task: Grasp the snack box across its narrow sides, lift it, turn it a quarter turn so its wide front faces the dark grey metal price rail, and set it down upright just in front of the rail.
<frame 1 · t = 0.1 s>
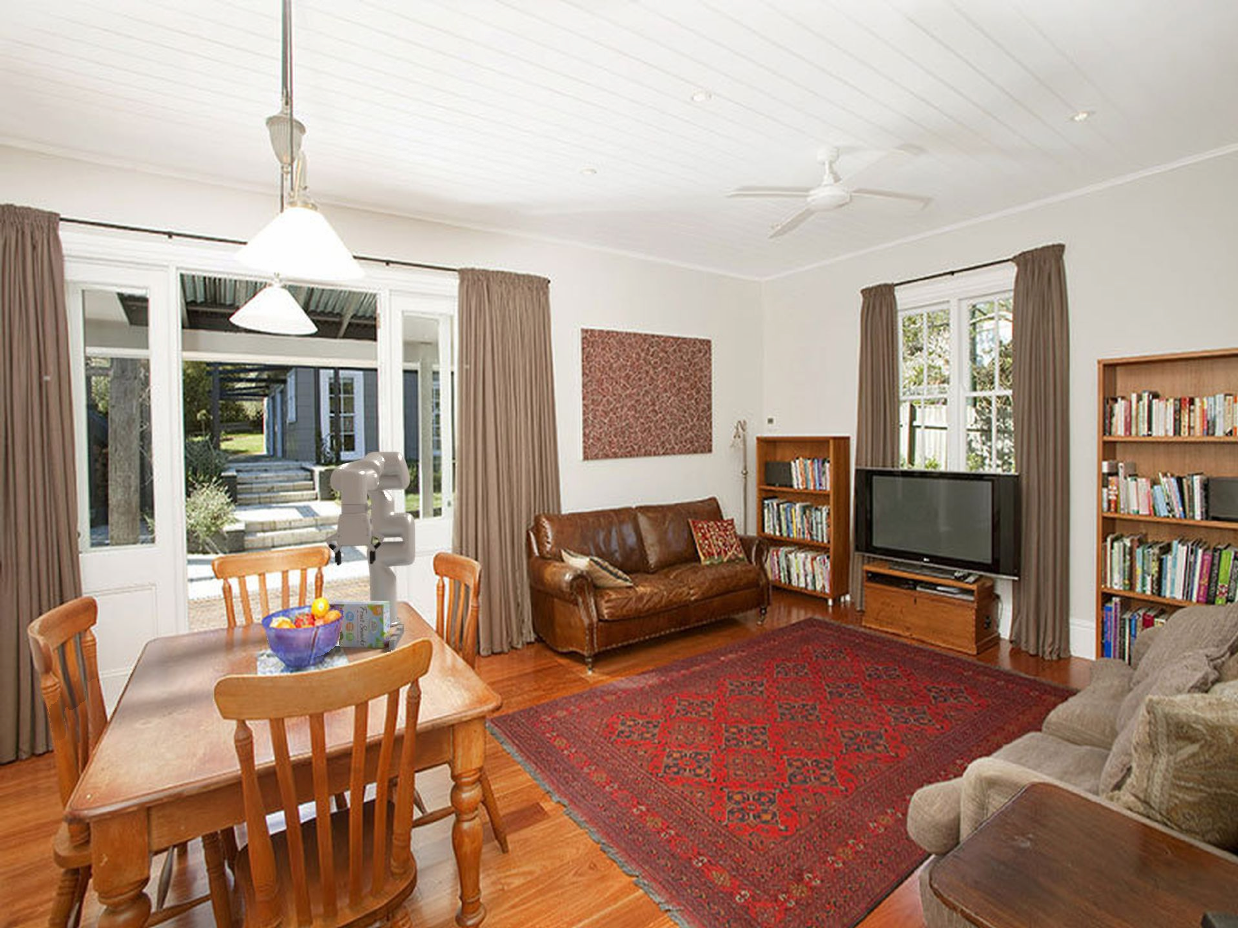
hand: (355, 564, 198), 31 cm above the table, tool pointing down, fingers open, 9 cm apart
snack box: (357, 646, 217), on the table
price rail: (396, 641, 221), on the table
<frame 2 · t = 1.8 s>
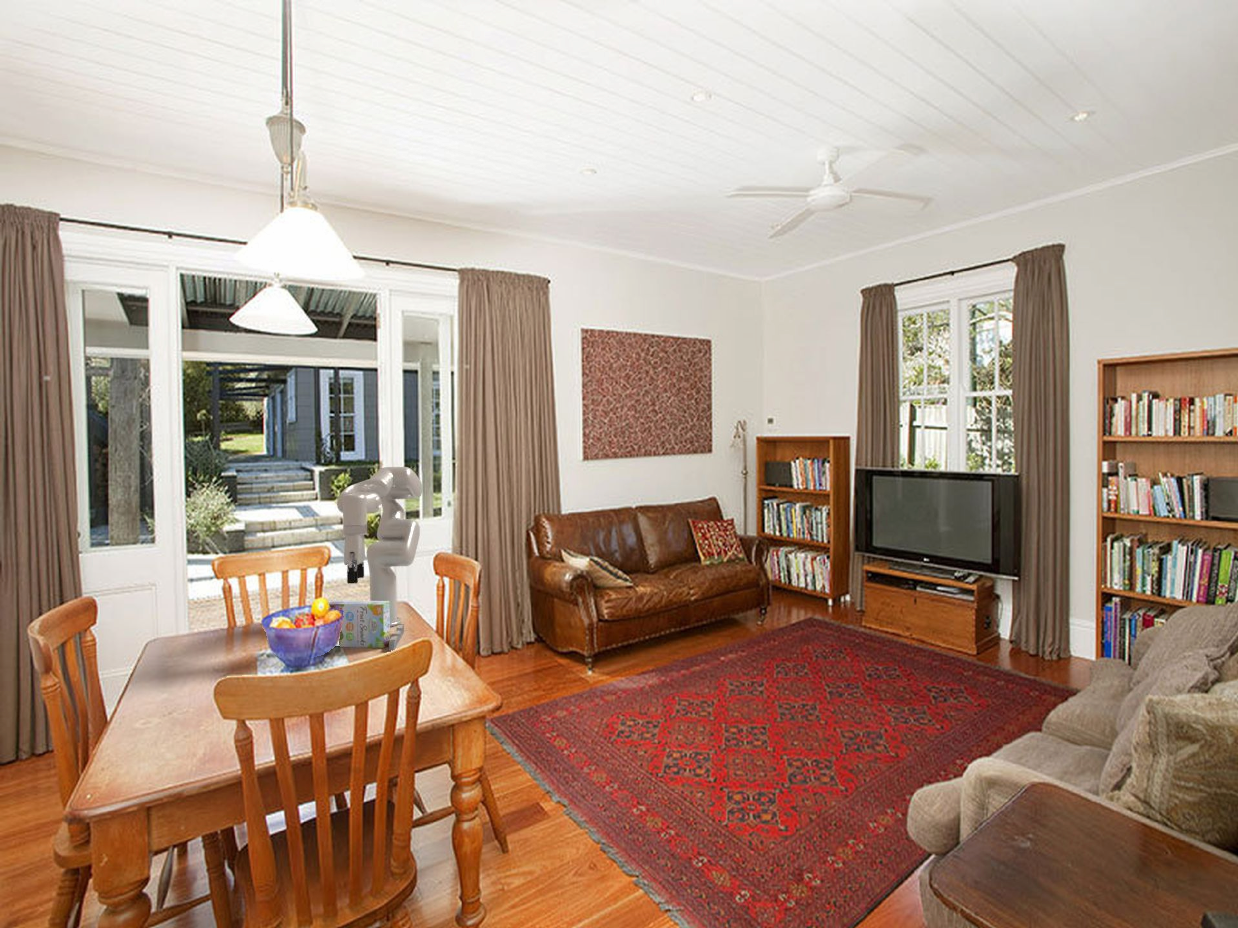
hand: (355, 580, 216), 22 cm above the table, tool pointing down, fingers open, 9 cm apart
nothing on the table moved.
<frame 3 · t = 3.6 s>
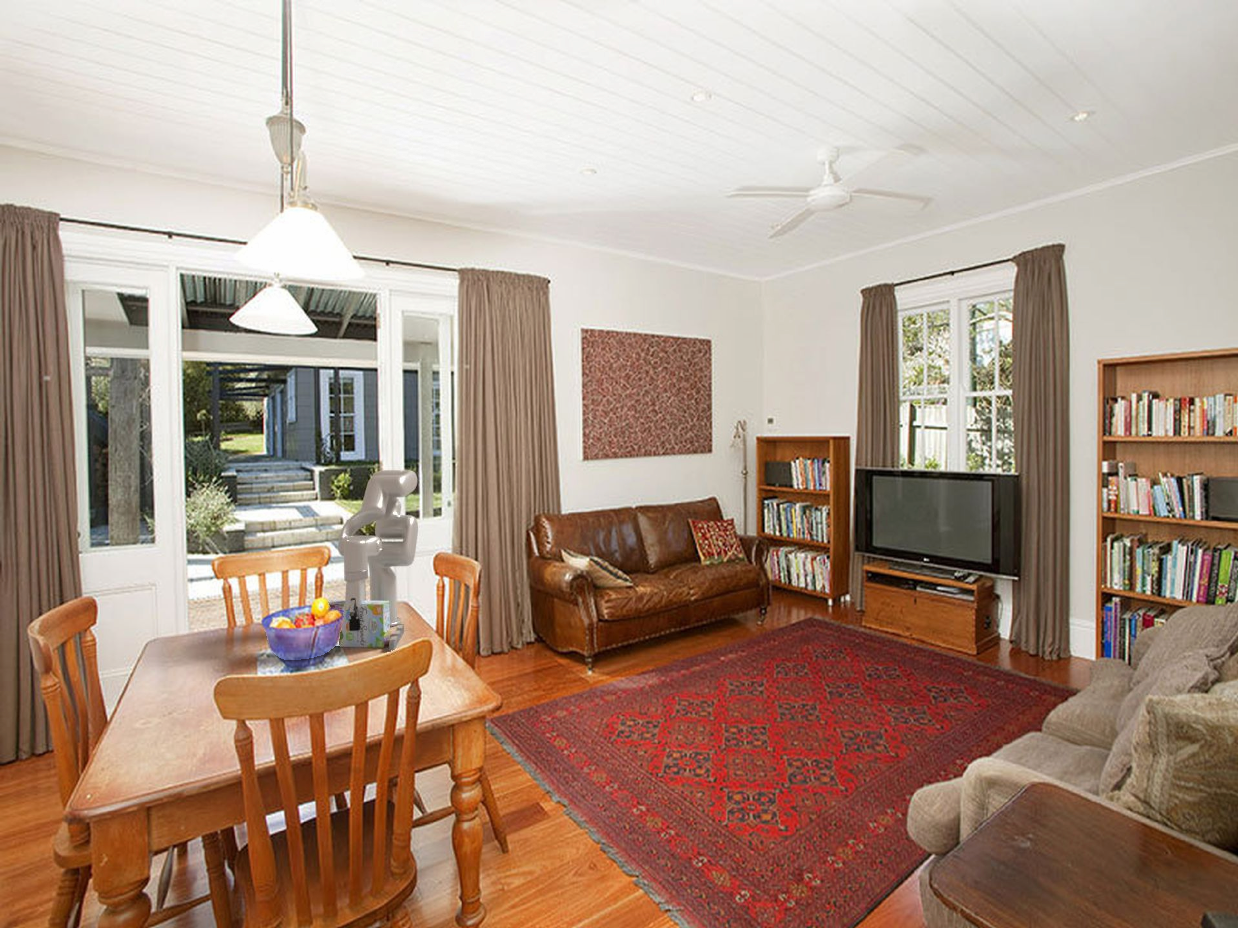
hand: (357, 627, 216), 6 cm above the table, tool pointing down, fingers closed on snack box, 6 cm apart
snack box: (357, 645, 217), on the table, touching gripper
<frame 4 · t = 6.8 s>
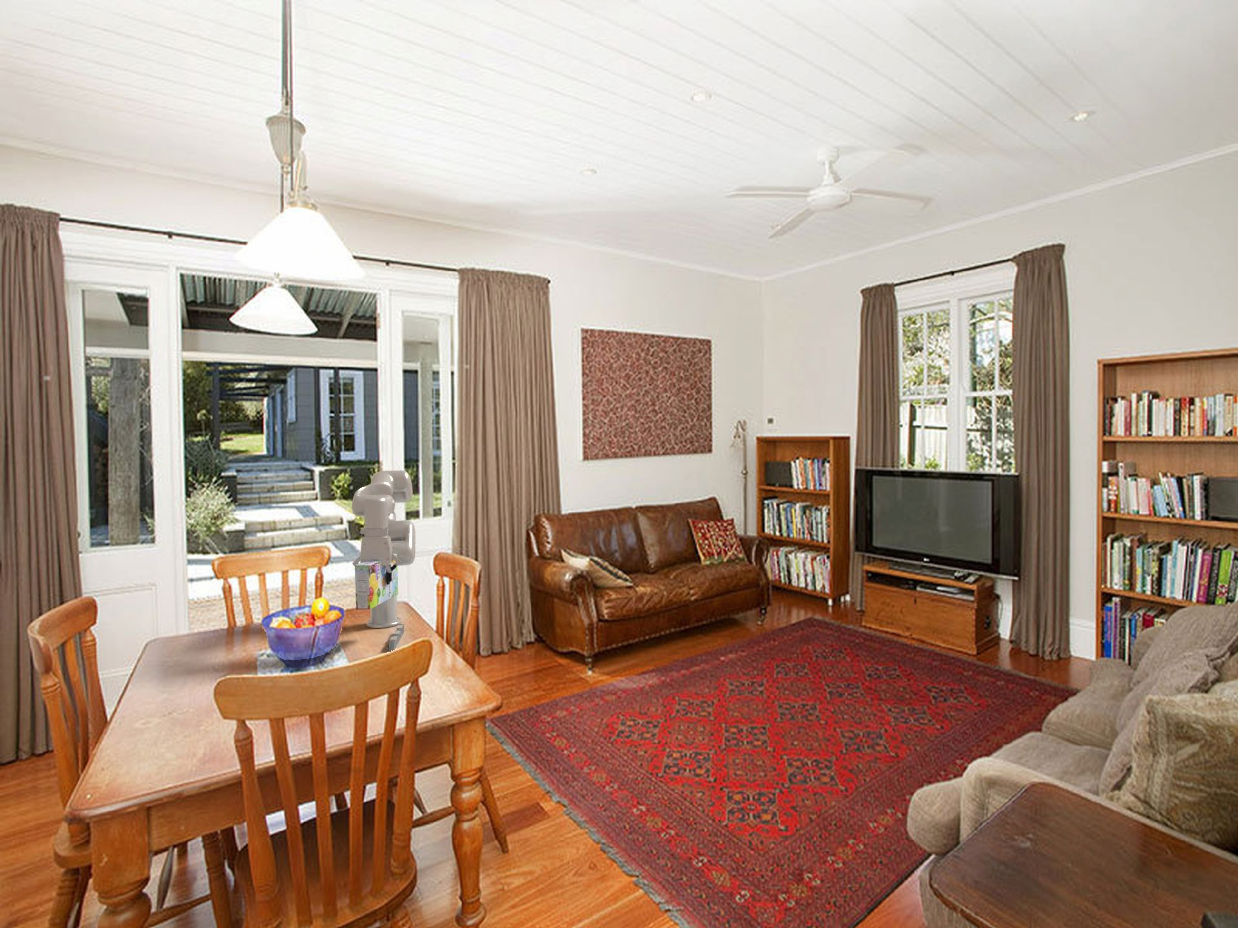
hand: (377, 583, 219), 20 cm above the table, tool pointing down, fingers closed on snack box, 6 cm apart
snack box: (377, 602, 220), point 14 cm above the table, touching gripper
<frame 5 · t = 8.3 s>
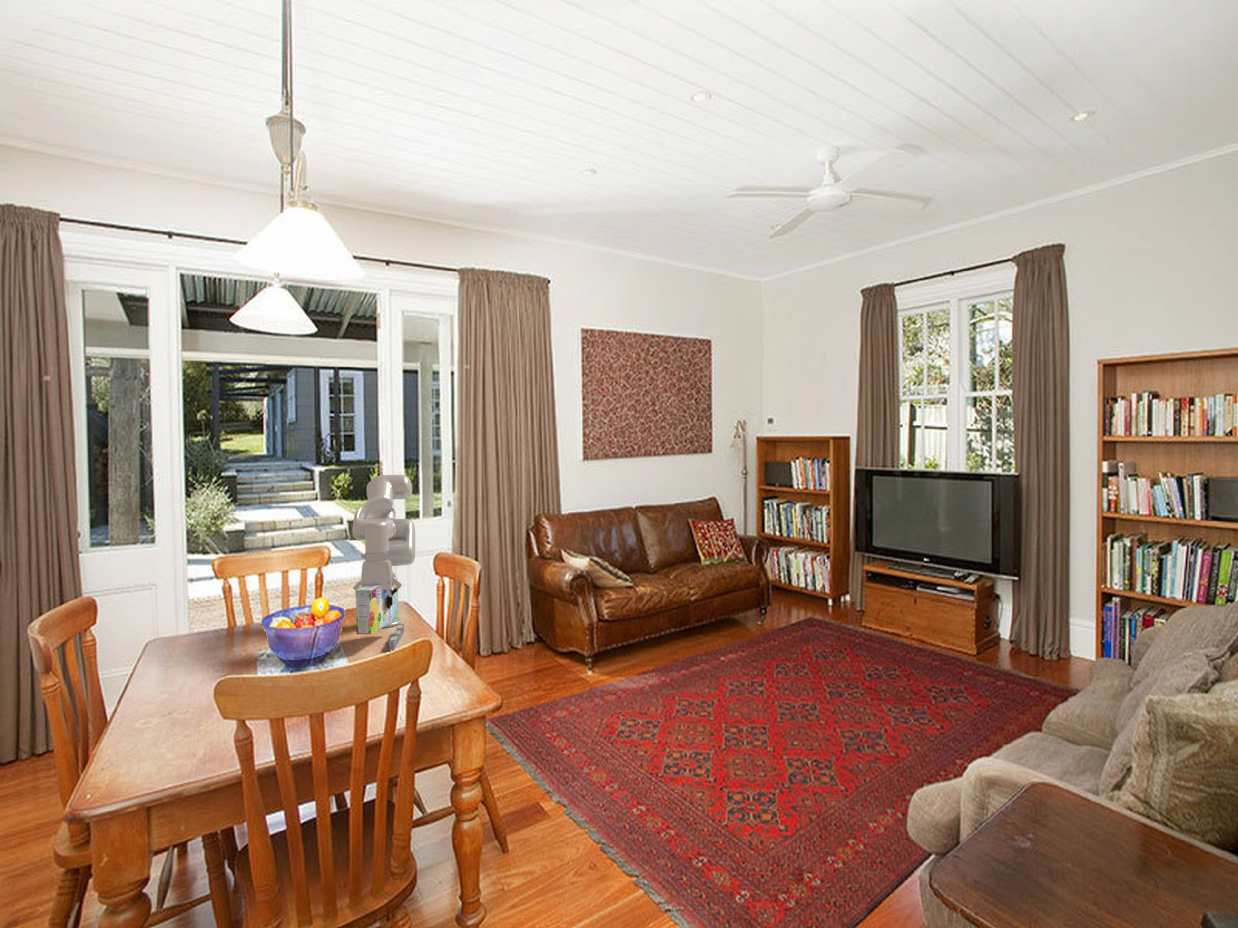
hand: (378, 607, 219), 12 cm above the table, tool pointing down, fingers closed on snack box, 6 cm apart
snack box: (378, 626, 219), point 6 cm above the table, touching gripper
when the fingers open (7 cm above the table, at t = 9.8 s): snack box drops 1 cm, on the table.
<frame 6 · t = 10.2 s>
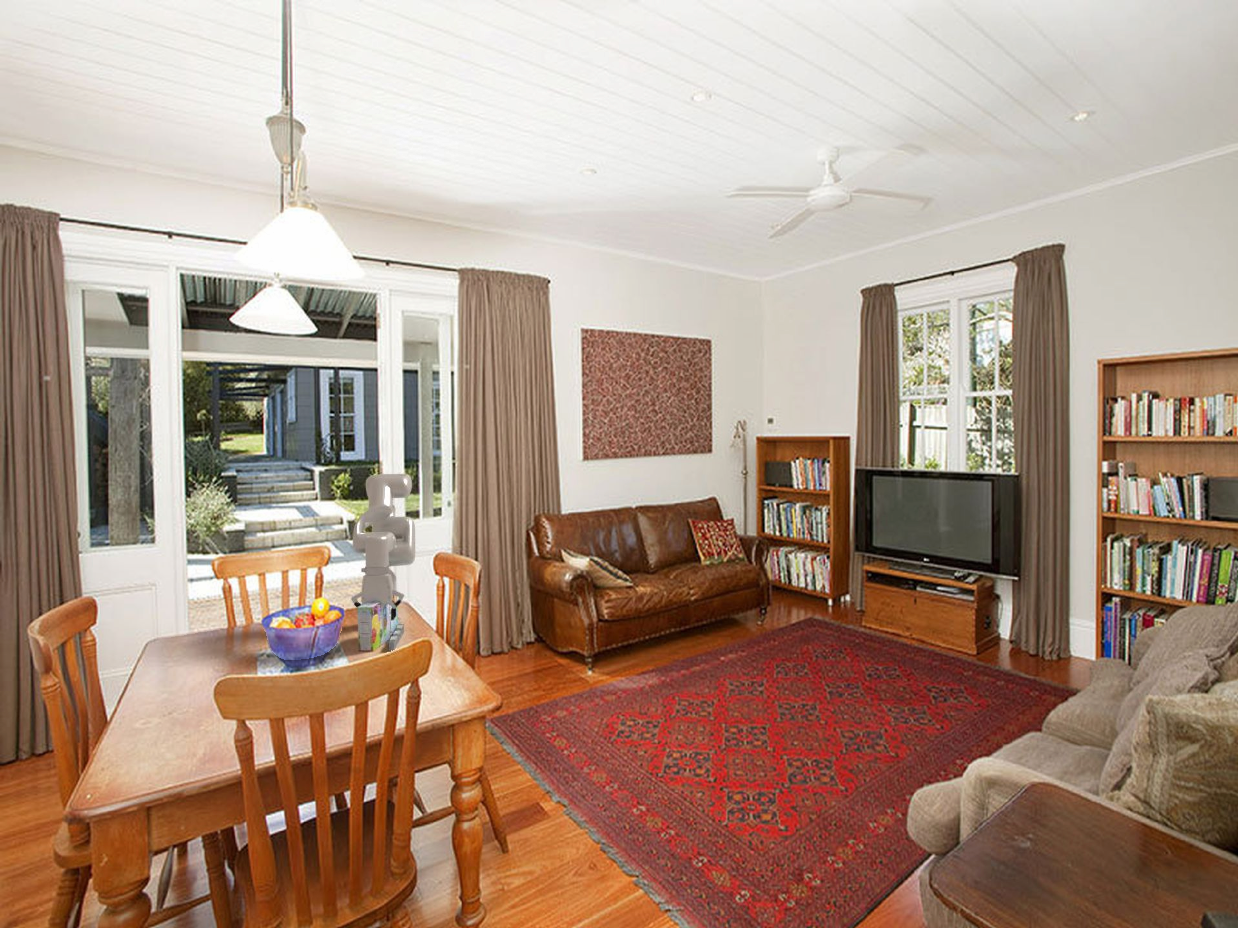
hand: (378, 619, 220), 8 cm above the table, tool pointing down, fingers open, 9 cm apart
snack box: (379, 642, 221), on the table
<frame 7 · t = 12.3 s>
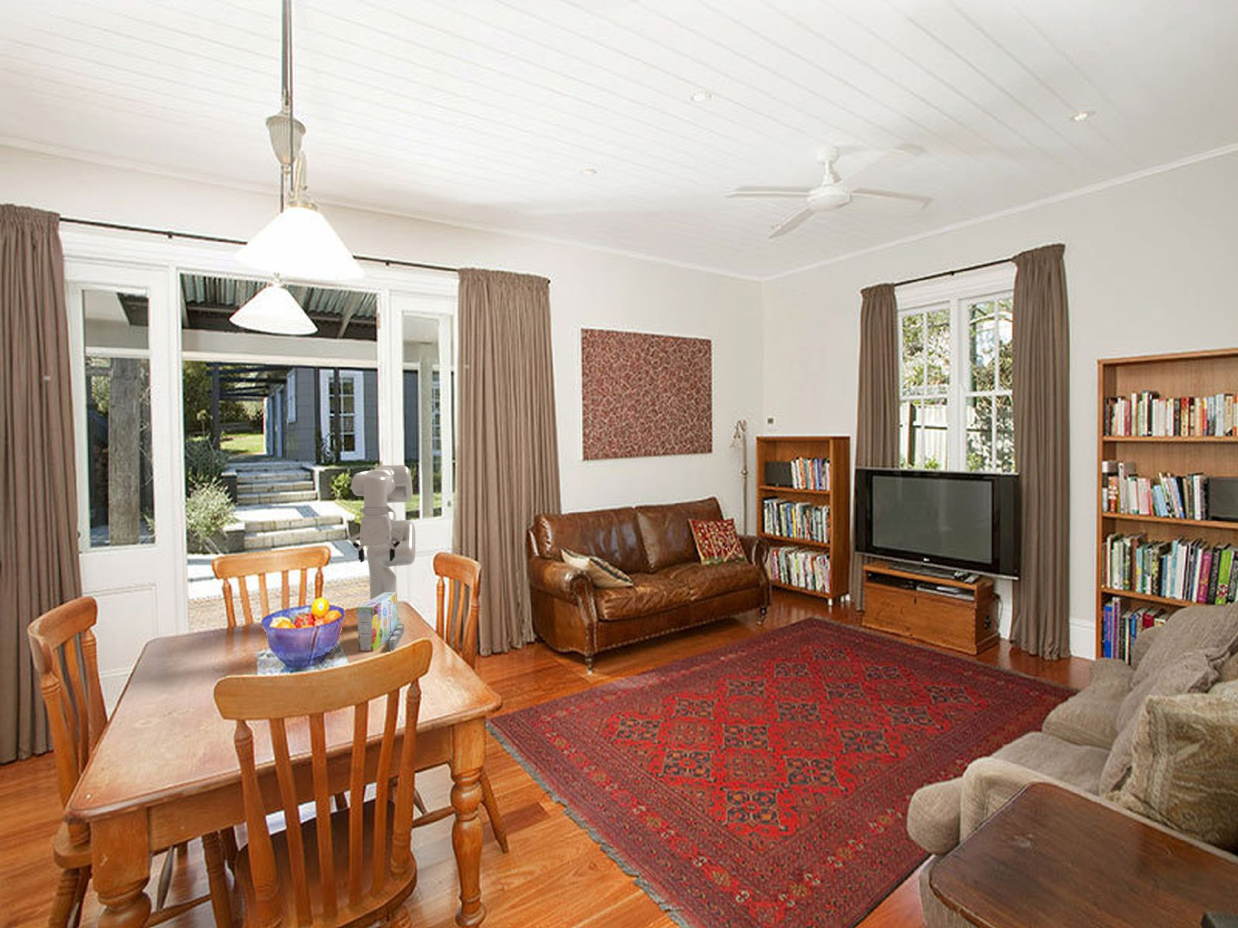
hand: (377, 560, 219), 28 cm above the table, tool pointing down, fingers open, 9 cm apart
nothing on the table moved.
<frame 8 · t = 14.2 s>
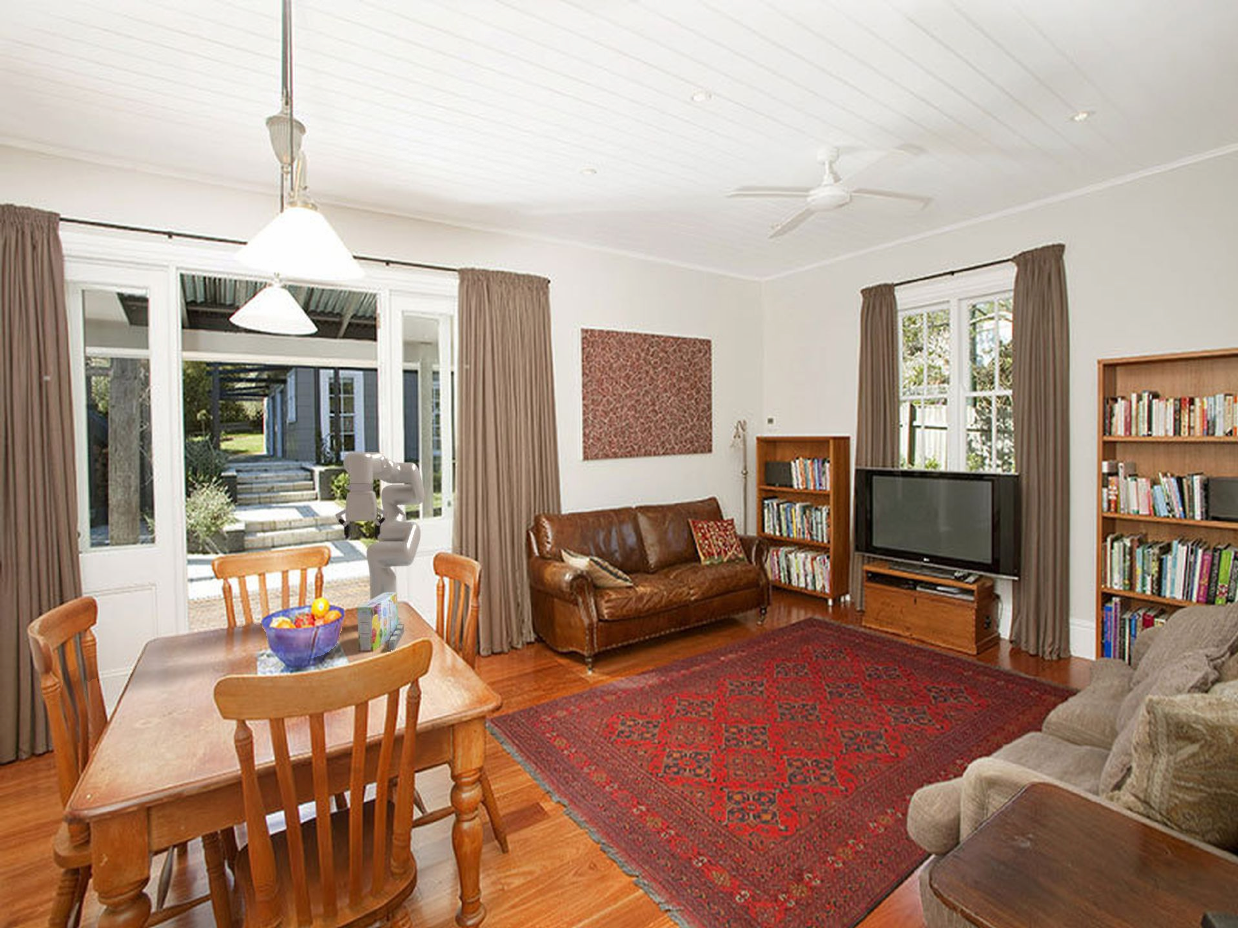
hand: (362, 537, 222), 36 cm above the table, tool pointing down, fingers open, 9 cm apart
nothing on the table moved.
at the end: snack box inside the target area (0.9 cm from its centre), on the table; snack box tilted 0°; the gripper is holding nothing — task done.
